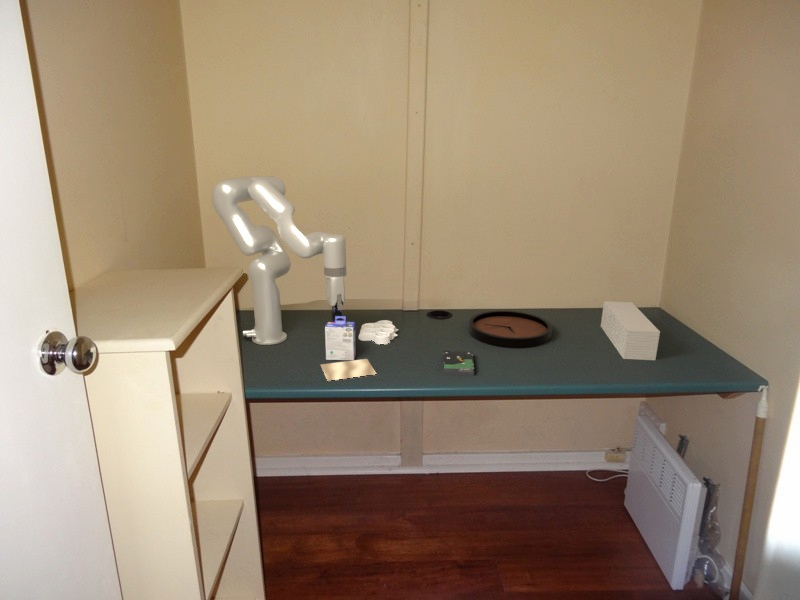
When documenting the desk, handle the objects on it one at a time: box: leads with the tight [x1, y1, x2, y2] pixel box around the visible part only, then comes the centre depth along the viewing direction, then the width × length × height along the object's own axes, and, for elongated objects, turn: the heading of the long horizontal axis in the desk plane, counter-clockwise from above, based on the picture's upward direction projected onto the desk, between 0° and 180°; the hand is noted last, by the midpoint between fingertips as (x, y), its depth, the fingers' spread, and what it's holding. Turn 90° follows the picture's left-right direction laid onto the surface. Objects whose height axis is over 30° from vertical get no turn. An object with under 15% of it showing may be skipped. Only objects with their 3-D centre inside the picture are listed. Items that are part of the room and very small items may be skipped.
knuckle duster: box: [358, 319, 399, 345], centre depth 206 cm, size 3×18×15 cm
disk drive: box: [442, 350, 475, 377], centre depth 181 cm, size 10×3×15 cm
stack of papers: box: [600, 300, 661, 361], centre depth 200 cm, size 32×11×11 cm, turn 174°
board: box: [319, 358, 378, 382], centre depth 177 cm, size 16×12×1 cm
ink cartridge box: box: [324, 315, 357, 361], centre depth 185 cm, size 10×6×14 cm, turn 89°
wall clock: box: [468, 310, 553, 349], centre depth 210 cm, size 31×4×31 cm
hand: (337, 322), depth 189 cm, fingers closed
